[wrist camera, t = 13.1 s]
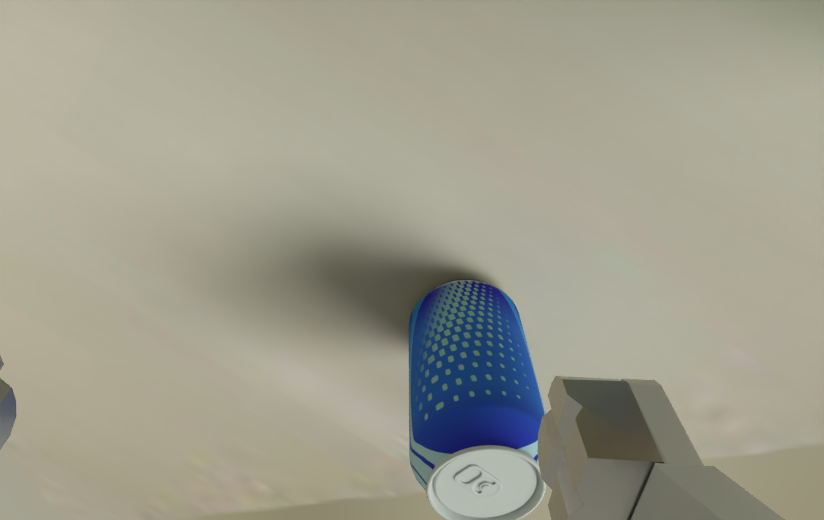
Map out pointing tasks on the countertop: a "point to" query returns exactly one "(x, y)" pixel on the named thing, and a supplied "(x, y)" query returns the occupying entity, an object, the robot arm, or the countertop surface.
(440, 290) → the beer can
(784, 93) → the countertop surface
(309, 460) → the countertop surface
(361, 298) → the countertop surface
